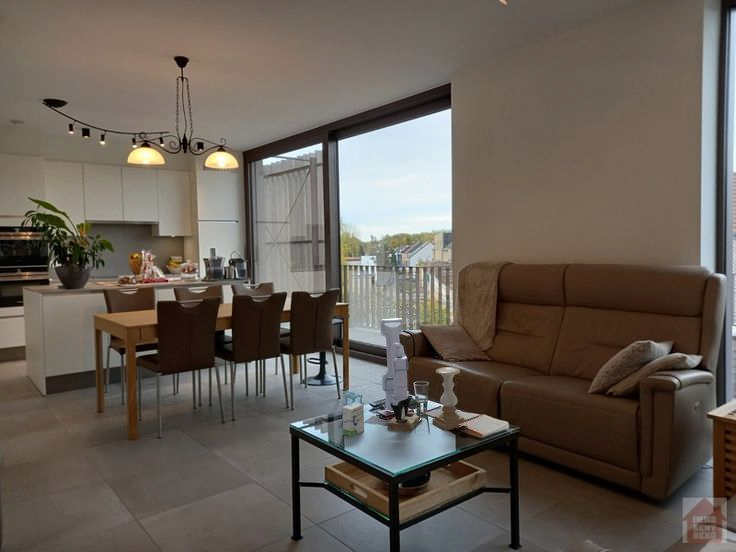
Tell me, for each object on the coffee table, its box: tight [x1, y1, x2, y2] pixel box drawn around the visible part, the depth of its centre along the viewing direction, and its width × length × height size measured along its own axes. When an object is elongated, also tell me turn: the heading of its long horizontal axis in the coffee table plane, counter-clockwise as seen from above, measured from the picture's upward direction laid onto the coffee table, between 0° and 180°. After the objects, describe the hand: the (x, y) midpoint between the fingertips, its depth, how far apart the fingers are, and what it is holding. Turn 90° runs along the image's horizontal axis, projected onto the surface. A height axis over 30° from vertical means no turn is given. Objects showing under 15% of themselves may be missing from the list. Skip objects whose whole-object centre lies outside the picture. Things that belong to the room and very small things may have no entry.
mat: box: [364, 415, 390, 426], centre depth 236 cm, size 10×10×1 cm
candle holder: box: [432, 366, 467, 431], centre depth 227 cm, size 11×11×24 cm
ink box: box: [342, 403, 365, 438], centre depth 222 cm, size 9×5×12 cm, turn 143°
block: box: [386, 411, 420, 433], centre depth 230 cm, size 16×10×3 cm, turn 156°
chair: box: [341, 391, 365, 419], centre depth 241 cm, size 8×8×12 cm
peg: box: [398, 406, 405, 423], centre depth 226 cm, size 3×3×9 cm
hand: (401, 416), depth 226 cm, fingers open, 7 cm apart
